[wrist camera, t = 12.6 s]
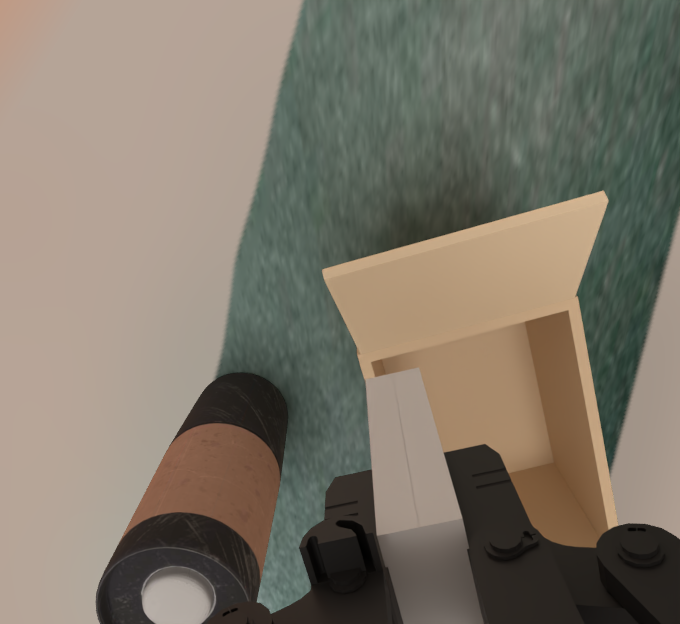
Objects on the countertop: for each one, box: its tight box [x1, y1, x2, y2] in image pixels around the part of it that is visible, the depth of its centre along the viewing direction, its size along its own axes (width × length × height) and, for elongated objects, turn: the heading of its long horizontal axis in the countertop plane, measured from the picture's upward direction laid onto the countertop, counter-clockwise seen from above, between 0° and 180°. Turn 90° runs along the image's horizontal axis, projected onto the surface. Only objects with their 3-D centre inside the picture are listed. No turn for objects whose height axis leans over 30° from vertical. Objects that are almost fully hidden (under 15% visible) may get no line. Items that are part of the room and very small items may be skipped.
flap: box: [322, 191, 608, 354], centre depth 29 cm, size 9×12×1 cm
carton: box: [357, 296, 618, 548], centre depth 41 cm, size 18×12×12 cm, turn 16°
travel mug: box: [96, 373, 288, 624], centre depth 38 cm, size 8×8×20 cm
